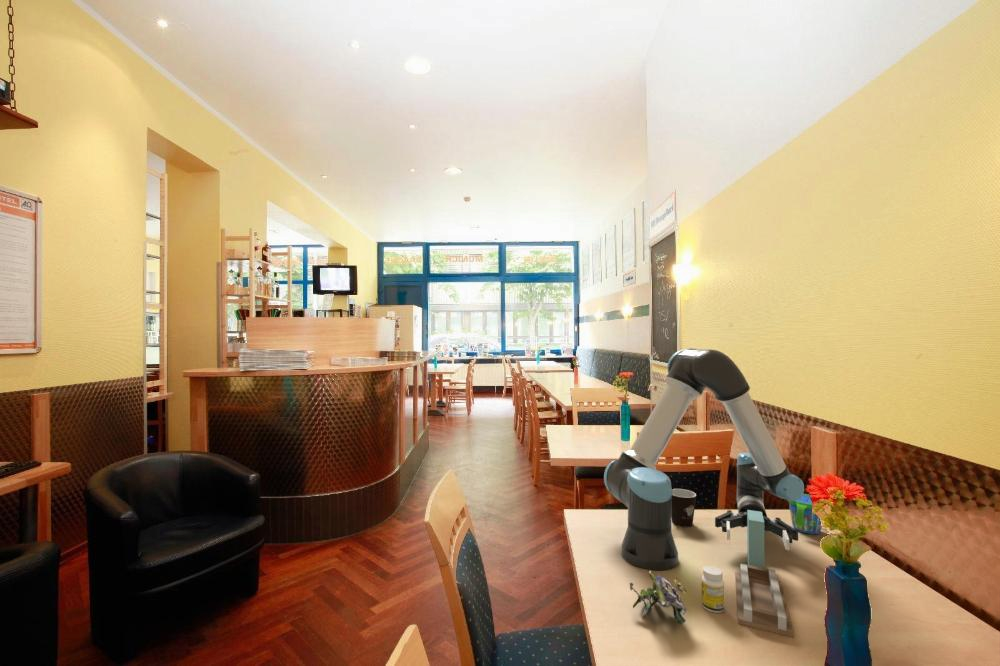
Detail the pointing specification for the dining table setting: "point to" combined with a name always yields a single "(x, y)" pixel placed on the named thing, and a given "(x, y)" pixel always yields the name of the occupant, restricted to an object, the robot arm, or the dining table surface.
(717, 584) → the supplement bottle
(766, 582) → the track
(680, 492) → the coffee mug
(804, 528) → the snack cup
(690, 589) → the dining table surface
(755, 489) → the robot arm
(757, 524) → the teal rectangular block
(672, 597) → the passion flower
